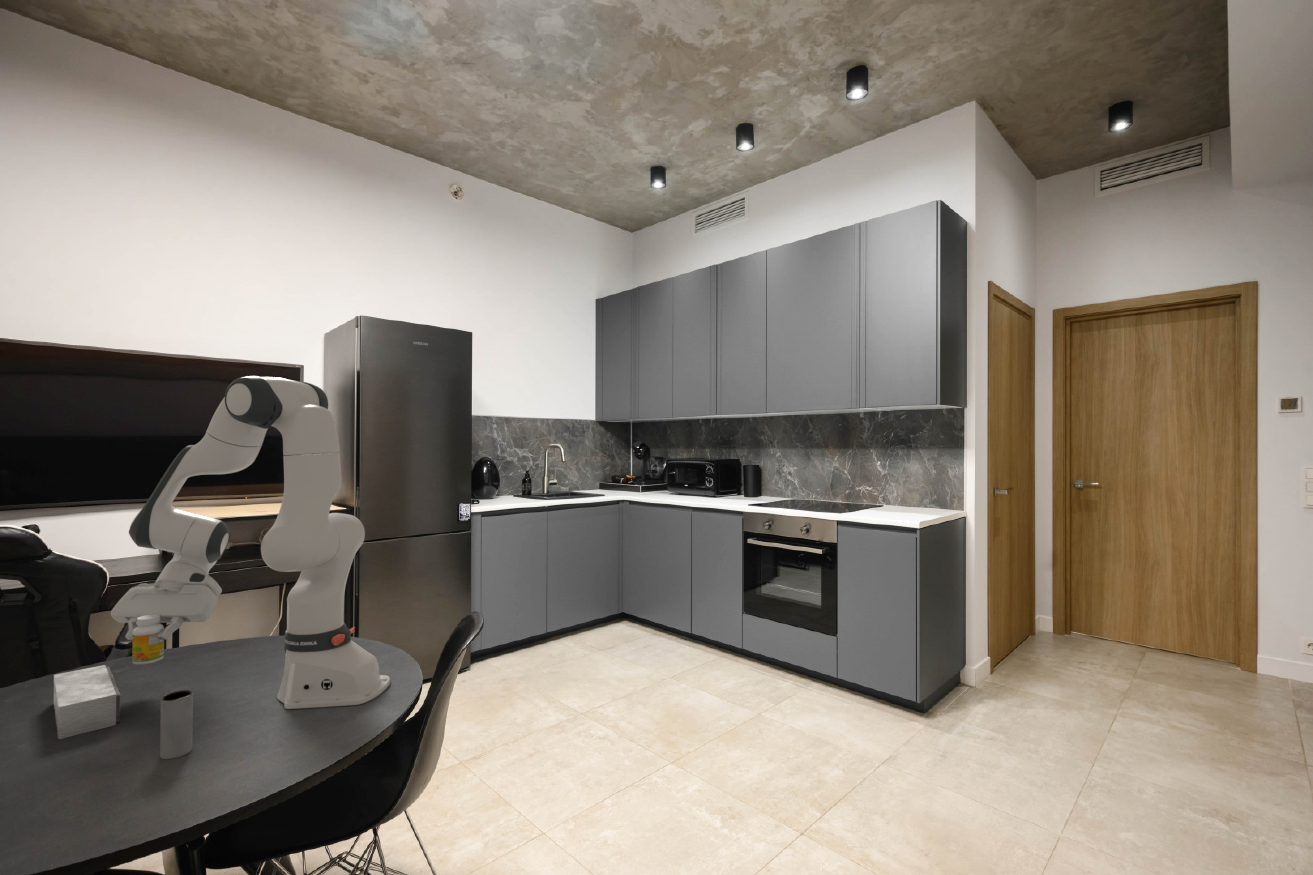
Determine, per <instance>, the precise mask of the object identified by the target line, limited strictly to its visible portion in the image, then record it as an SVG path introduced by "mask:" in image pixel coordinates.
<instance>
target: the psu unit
mask: <svg viewBox="0 0 1313 875" xmlns="http://www.w3.org/2000/svg"><path fill="white" fill-rule="evenodd" d="M53 710H55V711H54V717H55V725H56V731H57V732H56V733H57V739H58V740H61V739H65V738H70V737H74V736H77V735H82V734H85V733H90V732H93V731H98V730H101V729H105V728H109V727H113V726H116V725H117V723H118V722H120V718H121V716H120V715H121V712H120V711H121V692H120V690H119V688H118V686H117V684H116V681H115V677H114V676H113V673H112V671H111V669H110V666H106V665H105V664H103V665H98V666H92V667H87V668H82V669H77V670H72V671H67V672H62V673H56V674H53Z"/></svg>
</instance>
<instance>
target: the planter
mask: <svg viewBox="0 0 1313 875" xmlns="http://www.w3.org/2000/svg"><path fill="white" fill-rule="evenodd" d="M193 721H194V692H193V691H192V690H187V689H182V690H175V691H172V692H169V693H167V694H165V695H163V696H161V698H160V726H159V728H160V730H159V733H160V735H159V738H160V739H159V740H160V741H159V757H160V758H161V759H163V760H172V759H175V758H176V759H177V758H180V757H182V756H185V755H187V754H188V753H190V752H191V751H192V750H193V736H194V735H193V734H194V730H193V727H194V722H193Z"/></svg>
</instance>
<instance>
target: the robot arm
mask: <svg viewBox="0 0 1313 875" xmlns="http://www.w3.org/2000/svg"><path fill="white" fill-rule="evenodd" d="M270 427H273V428H275V429H276V430H277V431H278V432H280V435H281V436H282V452H283V453H282V454H283V455H282V457H283V458H282V459H283V479H284V480H283V486H284V487H283V495H282V502H281V505H280V508H279V511H278V513H277V517H276V519H275V521H274V523H273V525H272V526H271V527H270V529H269V530H268V531H267V532H266V533H265V535H264V536H263V538H262V539H261V544H260V554H261V558H262V560H263V561H264V563H265V564H266V565H267V567H269V568H270V569H272V570H273V571H277V572H282V573H283V572H285V573H289V572H290V573H291V572H300V573H299V574H300V575H299V577H298V579H297V581H296V582H295V584H294V586H293V587H292V588H291V589H290V591H289V593H288V595H287V598H286V602H287V604H286V605H287V607H286V608H287V609H286V630H284V639H283V640H284V642H283V648H284V653H285V660H284V667H283V668H284V669H283V672H282V673H283V674H282V679H281V683H280V687H279V689H278V692H277V695H276V698H277V700H278V701H280V702H281V703H282V704H283V707H284V709H286V710H291V709H294V710H295V709H311V708H329V707H343V706H344V707H346V706H357V705H362V704H364V703H365V704H366V703H368V702H369V701H371V700H373V699H375V698H377V697H378V696H380V694H382V693H383V692H384V691H385V690H386V689H387V688H388V687H389V686H390V684H391V679H390V676H389V675H385V674H380V668H379V662H378V660H377V657H376V656H375V655H373V654H372V653H370V652H369V651H367V650H366V649H364V648H363V647H362V646H360V645H359V644H357V643H356V642H354V641H353V640H352V637H351V634H353V633H354V632H355V631H356V630H355V628H356V627H355V626H353V627H351V628H348V626H347V624H346V623H344V622H343V621H344V593H345V591H346V585H347V581H348V577H349V573H350V570H351V566H352V564H353V561H354V558H355V556H356V553H357V552H358V551H359V549H360V547H362V545H363V543H364V541H365V539H366V538H365V536H366V530H365V527H364V524H363V523H362V521H361V520H360V519H359V518H358V517H356V516H355V515H352V514H348V513H342V512H331V513H330V511H331V507H332V504H333V501H334V498H335V497H336V495H337V494H338V493H339V492H340V489H341V488H342V471H341V470H342V469H341V453H340V442H339V435H338V430H337V424H336V422H335V417H334V415H333V413H332V412H331V411H330V410H329V399H328V396H327V394H326V393H325V391H324V390H323V389H322V388H321V387H319V386H317V385H315V384H313V383H310V382H306V381H297V380H292V379H287V378H283V377H275V376H274V377H273V376H258V375H249V376H248V375H247V376H242V377H239V378H236V379H234V380H233V381H231V382H230V384H228V386H227V388H226V390H225V394H224V397H223V398H222V400H221V401H220V403H219V405H218V407H217V408H216V409H215V412H214V414H213V416H212V418H211V420H210V422H209V425H208V427H207V429H206V432H205V434H204V436H203V437H202V438H201V440H200V441H198V442H197V443H196V444H189V445H187V446H185V447H184V448H182V449H181V451H180V452H178V454H177V455H176V457H175V458H174V459H173V460H172V462H171V463H170V464H169V466H168V467H167V469H166V471H165V472H164V474H163V476H162V477H161V478H160V480H159V481H158V483H157V485H156V487H155V488H154V490H153V491H152V493H151V495H150V497H149V498H148V499H147V501H146V502H145V504H144V506H143V507H142V509H141V510H140V511H139V512H138V513H137V514H136V515H135V516H134V518H133V520H132V521H131V523H130V526H129V530H128V535H129V536H130V539H131V540H132V541H133V543H135V545H136V546H137V547H138V548H146V549H150V550H151V549H152V550H161V551H165V552H169V553H173V557H172V558H171V560H169V561H168V563H167V564H166V565H165V566H164V568H163V569H162V571H161V572H160V574H159V575H158V577H157V579H156V580H155V582H154V583H139V584H138V585H134V586H133V587H131V588H129V589H128V591H126V593H125V594H124V595H123V596H122V597H121V598H120V599H119V600H118V601H117V603H116V604H115V605H114V607H113V608H112V609H111V611H110V615H111V618H113V619H114V620H115V621H116V622H117V623H119V624H126V623H127V625H128V630H127V632H126V634H125V636H124V637H125V639H126V640H128V641H132V634H133V630H134V629H135V628H137V627H138V625H137V618H138V617H141V616H145V615H160V622H159V623H170V624H168V625H167V626H166V627H164V629H161V630H160V632H159V634H158V635H157V637H158V638H159V639H160V640H164V641H165V640H169V638H170V637H171V635H172V634H173V633H174V632H175V631H178V629H179V628H181V627H182V625H183V624H184V623H205V622H206V621H207V620H209V619H210V618H211V616H212V615H213V612H214V611H215V609H216V606H217V605H218V601H219V598H218V597H219V596H220V595H221V594H222V591H223V589H222V587H221V586H220V585H219V583H218V582H217V581H216V580H215V579H214V578H213V577H212V576H210V575H209V573H210V572H209V571H210V570H211V569H212V568H213V567H214V566H215V564H216V563H217V562H218V561H219V560H220V559H221V558H222V556H223V554H224V553H225V552H226V550H227V547H228V546H229V543H230V540H231V532H230V530H229V527H228V525H227V524H226V523H225V521H223V520H221V519H217V518H214V517H210V516H206V515H202V514H196V513H194V512H190V511H186V510H181V509H178V508H176V507H175V506H173V502H174V500H175V499H176V497H177V495H178V494H179V492H180V491H181V489H182V487H183V486H184V484H185V483H186V481H187V480H188V478H191V477H195V476H201V475H202V476H203V475H204V476H205V475H206V476H207V475H226V474H227V475H228V474H233V473H238V472H240V471H243V470H245V469H247V468H248V467H249V466H251V465H252V464H253V463H254V462H255V461H256V458H257V457H258V455H259V453H260V450H261V448H262V446H263V443H264V440H265V437H266V434H267V431H268V429H269V428H270ZM345 594H346V593H345Z"/></svg>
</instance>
